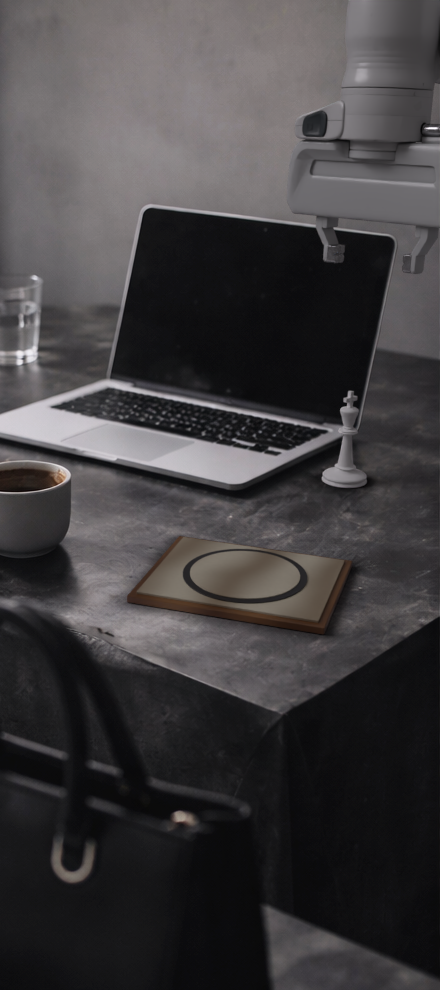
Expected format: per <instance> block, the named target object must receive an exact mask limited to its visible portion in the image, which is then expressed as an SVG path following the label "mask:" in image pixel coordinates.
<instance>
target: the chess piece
mask: <svg viewBox="0 0 440 990" xmlns="http://www.w3.org/2000/svg"><path fill="white" fill-rule="evenodd" d="M358 398H359V397H358V395H355V390H348V391H347V396H346V397H343V399H342V401H343V403H346V406H345V405H344V406H342V407H341V408H339V409H340V410H339V413H340V416H341V422H342V426H341V427H338V430H337V432H338V434H341V435H342V441H341V446H340V450H339V456H338V460H337V462H336V463H335V464H334V466H331V467H328V468H326V469H324V471H322V476H321V481H322V482H323V483H324V484H326V485H328V486H331V487H335V488H341V489H356V488H361V487H363V486H365V485H366V484H367V483H368V480H367V478H368V476H367V474H366V473H365V471H363V470H361V469H358V468H357V465H356V464H354V454H353V453H354V451H353V436H355V435H357V434H359V431H358V429H357V428H355V427H354V425H355V423H356V420H357V418H358V416H359V413H360V409H359V408H357V407H356V406H354V402H356V401H358Z"/></svg>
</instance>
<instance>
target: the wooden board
mask: <svg viewBox="0 0 440 990" xmlns="http://www.w3.org/2000/svg"><path fill="white" fill-rule="evenodd" d="M352 567H353V560H350V559H344V558H343V559H342V558H336V557H329V556H320V555H315V554H307V553H300V552H295V551H294V552H293V551H288V550H287V551H286V550H280V549H273V548H267V547H259V546H253V545H247V544H238V543H231V542H225V541H217V540H212V539H203V538H198V537H197V538H196V537H190V536H183V535H179V536H178V537H177V538H176V539H175V541H174V542H173V543H171V545H170V546H169V547H168V548H167V549H166V551H165V552H164V553H163V554H162V555H161V556H160V558H159V559H158V560H157V561H155V563H154V565H152V567H151V568H150V569H149V570H148V571H147V572H146V574H145V575H143V576H142V578H141V579H140V580H139V581H138V582H137V584H136V585H135V586H134V587H133V588H132V589H131V591H130V592H129V593H128V594H127V595H126V602H127V603H129V604H136V605H143V606H148V607H155V608H161V609H164V610H165V609H167V610H171V611H172V610H173V611H179V612H184V613H189V614H195V615H196V614H197V615H202V616H208V617H216V618H221V619H227V620H232V621H233V620H234V621H240V622H244V623H245V622H246V623H251V624H258V625H263V626H269V627H276V628H281V629H286V630H287V629H288V630H294V631H299V632H305V633H311V634H319V635H325V634H326V631H327V629H328V627H329V623H330V621H331V618H332V616H333V613H334V611H335V609H336V607H337V604H338V602H339V599H340V598H341V594H342V592H343V590H344V587H345V585H346V582H347V580H348V577H349V575H350V572H351V570H352Z"/></svg>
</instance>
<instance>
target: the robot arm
mask: <svg viewBox="0 0 440 990" xmlns="http://www.w3.org/2000/svg"><path fill="white" fill-rule="evenodd" d="M344 44H345V45H344V46H345V49H346V66H345V71H344V74H343V77H342V80H341V84H340V96H339V100H336V101H333V102H332V103H329V104H327V105H325V106H322V107H319V108H317V109H314V110H312V111H309V112H306V113H303V114H301V115H299V116H297V117H296V119H295V122H294V135H295V137H296V138H297V139H300V140H299V141H298V142H297V143H296V144H295V146H294V147H293V148H292V151H291V154H290V158H289V164H288V172H287V173H288V174H287V181H286V203H287V206H288V207H289V209H290V211H291V213H292V214H293V215H294V214H295V215H304V216H315V230H316V231H317V234H318V237H319V239H320V241H321V243H322V245H323V254H322V255H323V258H322V260H323V262H324V263H330V264H342V263H343V262H344V260H345V255H344V253H345V251H346V245H345V244H340V243H339V240H338V237H337V234H336V231H335V228H338V227H339V219H342V220H343V219H346V220H355V221H364V222H376V223H385V224H395V225H405V226H415V229H414V237H415V239H418V241H417V242H416V245H415V246H414V247H413V250H412V251H411V253H405V254H403V255H402V263H403V264H402V266H401V271H402V272H403V273H404V274H405V273H406V274H412V275H420V274H422V273H423V272H424V269H425V260H426V255H428V253H429V252H430V250H431V248H432V247H433V246H434V245H435V243H436V241H437V240H438V238H439V231H440V123H432V113H433V111H432V110H433V101H434V92H435V84H438V85H440V0H347V8H346V14H345V28H344Z"/></svg>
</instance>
